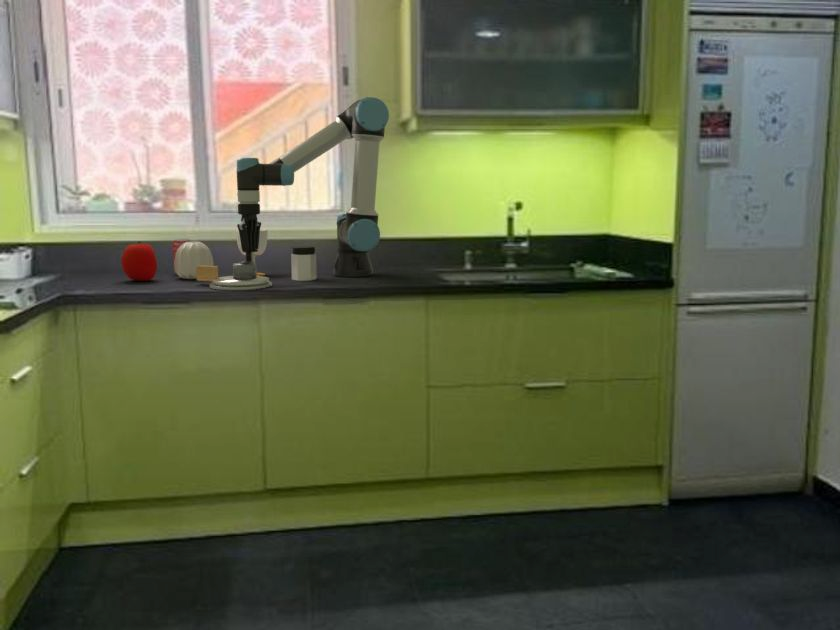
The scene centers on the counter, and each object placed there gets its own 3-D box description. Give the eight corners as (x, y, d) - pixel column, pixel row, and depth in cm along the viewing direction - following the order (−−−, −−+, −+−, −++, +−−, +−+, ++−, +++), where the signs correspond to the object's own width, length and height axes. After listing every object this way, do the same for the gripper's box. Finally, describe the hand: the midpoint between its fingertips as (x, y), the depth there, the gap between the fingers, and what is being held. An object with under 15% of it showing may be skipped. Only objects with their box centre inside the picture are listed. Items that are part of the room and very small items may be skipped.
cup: (251, 272, 321) (249, 228, 318) (275, 274, 315) (273, 229, 312) (231, 275, 311) (229, 230, 308) (255, 277, 305) (253, 231, 302)
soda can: (194, 274, 314) (193, 240, 312) (175, 275, 312) (173, 240, 309) (192, 272, 321) (190, 238, 318) (173, 273, 318) (171, 239, 316)
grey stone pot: (260, 277, 287) (260, 261, 286) (249, 279, 280) (248, 263, 279) (240, 276, 290) (240, 260, 289) (228, 278, 282) (228, 262, 281)
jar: (320, 279, 300) (319, 246, 297) (301, 281, 294) (300, 248, 292) (307, 277, 306) (306, 245, 304) (288, 279, 301) (287, 246, 299)
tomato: (164, 279, 299) (162, 240, 297) (146, 283, 288) (144, 243, 286) (134, 278, 302) (132, 239, 300) (115, 282, 292) (113, 242, 289)
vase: (202, 281, 295) (201, 243, 293) (167, 280, 298) (166, 243, 296) (220, 276, 308) (219, 240, 306) (186, 275, 312) (185, 239, 309)
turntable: (278, 280, 288) (278, 265, 288) (252, 287, 271) (251, 271, 270) (213, 277, 296) (212, 262, 295) (183, 284, 278) (182, 268, 277)
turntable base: (282, 283, 289) (282, 280, 289) (253, 291, 270) (253, 288, 269) (229, 281, 295) (229, 278, 295) (197, 289, 276) (197, 286, 275)
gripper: (248, 202, 292) (250, 268, 296) (229, 203, 280) (231, 272, 284) (267, 202, 290) (269, 268, 294) (249, 203, 278) (251, 273, 282)
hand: (250, 270), depth 289 cm, fingers closed
